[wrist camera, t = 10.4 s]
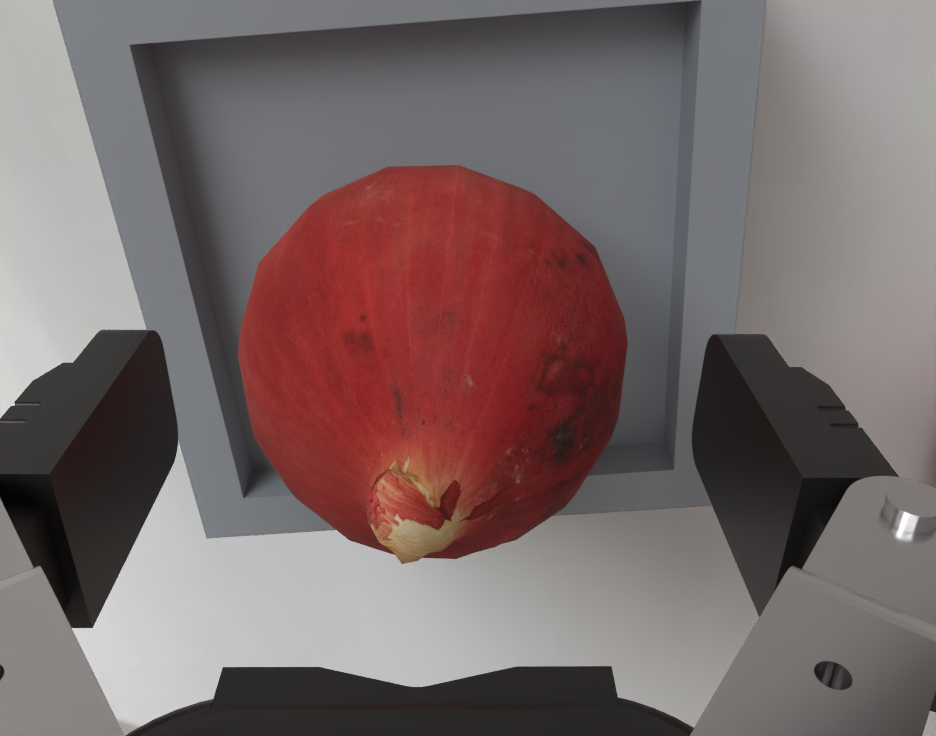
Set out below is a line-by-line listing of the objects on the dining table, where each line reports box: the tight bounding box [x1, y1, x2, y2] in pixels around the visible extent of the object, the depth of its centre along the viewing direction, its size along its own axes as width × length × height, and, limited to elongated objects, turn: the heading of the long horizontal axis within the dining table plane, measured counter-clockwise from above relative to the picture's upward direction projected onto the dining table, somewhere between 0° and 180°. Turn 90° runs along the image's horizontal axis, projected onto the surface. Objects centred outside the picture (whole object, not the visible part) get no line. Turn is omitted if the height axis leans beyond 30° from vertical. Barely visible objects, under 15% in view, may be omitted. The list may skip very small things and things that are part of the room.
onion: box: [238, 165, 628, 564], centre depth 13 cm, size 6×6×8 cm
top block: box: [53, 0, 766, 538], centre depth 17 cm, size 11×11×4 cm
